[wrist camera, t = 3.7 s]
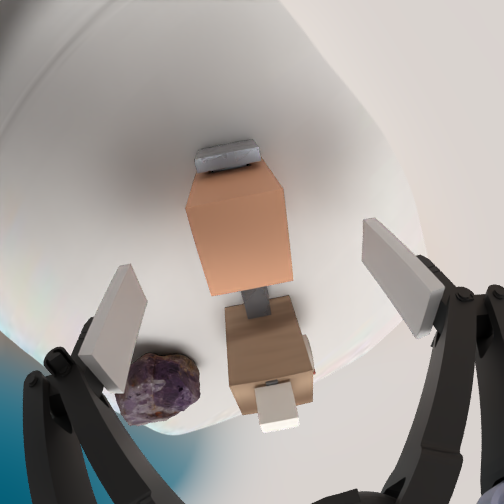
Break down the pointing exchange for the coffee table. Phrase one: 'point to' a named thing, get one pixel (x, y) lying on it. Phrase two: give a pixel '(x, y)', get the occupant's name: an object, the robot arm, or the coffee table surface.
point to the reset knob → (276, 407)
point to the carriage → (240, 228)
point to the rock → (158, 388)
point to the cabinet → (267, 353)
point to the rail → (225, 160)
